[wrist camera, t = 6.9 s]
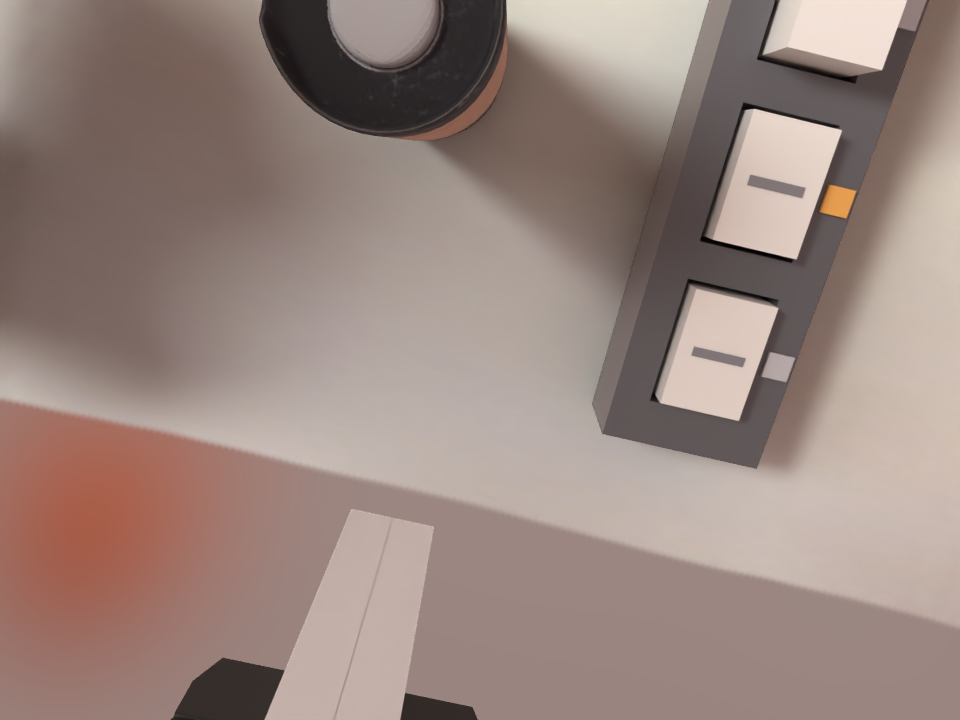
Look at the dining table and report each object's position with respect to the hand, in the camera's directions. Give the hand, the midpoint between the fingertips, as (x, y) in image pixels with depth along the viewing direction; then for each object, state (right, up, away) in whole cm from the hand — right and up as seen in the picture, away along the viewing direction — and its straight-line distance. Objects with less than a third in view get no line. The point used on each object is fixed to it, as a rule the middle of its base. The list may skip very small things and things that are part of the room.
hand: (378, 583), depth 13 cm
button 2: (+17, +14, +28) cm, 35 cm away
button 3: (+19, +22, +24) cm, 37 cm away
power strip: (+17, +17, +28) cm, 37 cm away
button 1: (+15, +6, +31) cm, 34 cm away
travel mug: (0, +20, +28) cm, 35 cm away
